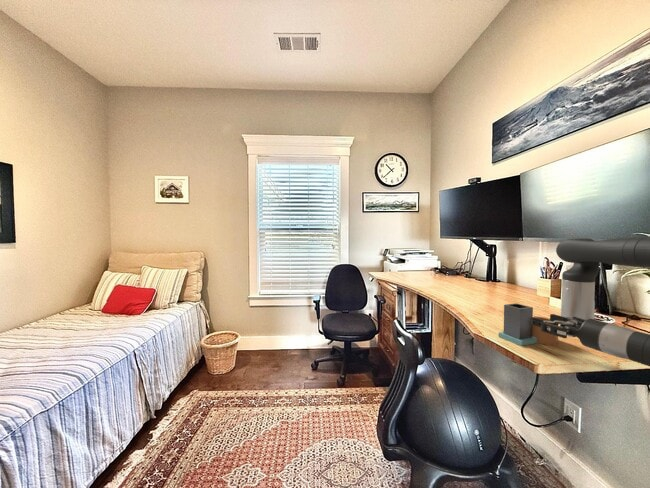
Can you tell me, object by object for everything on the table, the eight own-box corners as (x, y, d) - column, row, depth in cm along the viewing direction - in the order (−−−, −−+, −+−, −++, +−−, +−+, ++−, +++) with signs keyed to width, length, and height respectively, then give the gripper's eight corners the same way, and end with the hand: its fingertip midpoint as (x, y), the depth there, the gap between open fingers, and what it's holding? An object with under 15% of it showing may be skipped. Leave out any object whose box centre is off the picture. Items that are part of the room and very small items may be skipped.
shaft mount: (513, 334, 96) (513, 315, 96) (537, 342, 89) (537, 323, 89) (498, 336, 94) (498, 318, 94) (521, 346, 87) (521, 325, 86)
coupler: (515, 331, 95) (516, 303, 94) (532, 337, 90) (532, 307, 89) (503, 333, 93) (504, 304, 93) (519, 339, 88) (520, 309, 88)
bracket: (564, 345, 87) (565, 324, 87) (537, 345, 88) (538, 324, 87) (525, 325, 105) (526, 308, 105) (503, 325, 106) (504, 308, 105)
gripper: (590, 357, 66) (524, 333, 82) (626, 349, 71) (556, 327, 86) (592, 327, 66) (524, 309, 81) (627, 320, 70) (557, 304, 86)
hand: (541, 318), depth 84 cm, fingers open, 8 cm apart
